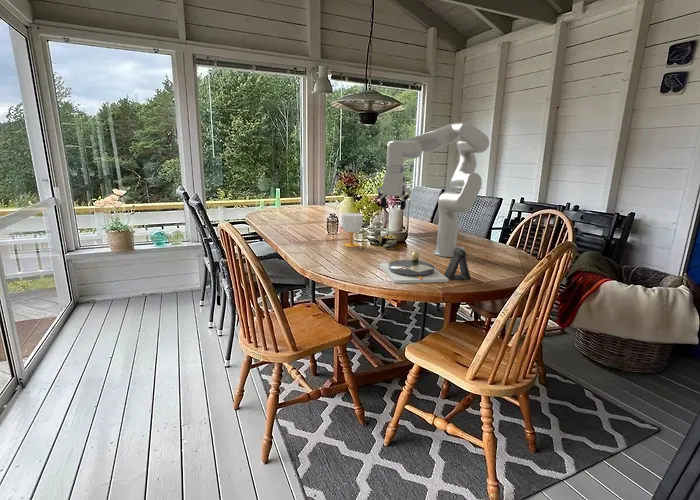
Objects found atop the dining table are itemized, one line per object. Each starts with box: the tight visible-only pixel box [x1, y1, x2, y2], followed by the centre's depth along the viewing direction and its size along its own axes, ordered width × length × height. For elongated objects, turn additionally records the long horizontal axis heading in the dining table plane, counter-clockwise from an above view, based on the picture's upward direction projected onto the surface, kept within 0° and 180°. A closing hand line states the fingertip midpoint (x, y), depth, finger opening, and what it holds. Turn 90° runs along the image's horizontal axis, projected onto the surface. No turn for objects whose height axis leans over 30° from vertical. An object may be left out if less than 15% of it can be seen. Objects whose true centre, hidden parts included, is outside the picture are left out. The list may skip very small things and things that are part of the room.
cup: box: [340, 212, 364, 248], centre depth 206 cm, size 12×12×17 cm
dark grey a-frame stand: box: [443, 248, 471, 281], centre depth 154 cm, size 9×6×12 cm, turn 94°
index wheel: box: [389, 251, 436, 276], centre depth 160 cm, size 19×19×6 cm
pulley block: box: [378, 234, 398, 249], centre depth 213 cm, size 14×6×30 cm
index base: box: [379, 262, 450, 284], centre depth 160 cm, size 22×24×2 cm
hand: (392, 208), depth 173 cm, fingers open, 9 cm apart
